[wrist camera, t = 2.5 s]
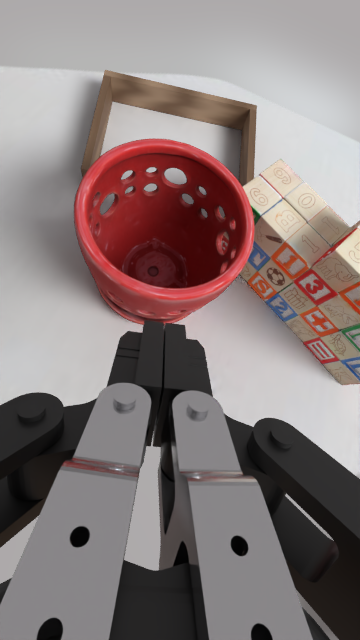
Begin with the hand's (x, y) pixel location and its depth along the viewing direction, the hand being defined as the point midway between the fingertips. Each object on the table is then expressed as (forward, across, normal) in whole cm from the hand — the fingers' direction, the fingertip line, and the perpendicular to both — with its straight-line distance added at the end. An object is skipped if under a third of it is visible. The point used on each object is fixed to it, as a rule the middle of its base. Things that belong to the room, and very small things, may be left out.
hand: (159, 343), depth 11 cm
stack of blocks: (+22, -15, +6) cm, 27 cm away
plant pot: (+21, 0, +6) cm, 22 cm away
